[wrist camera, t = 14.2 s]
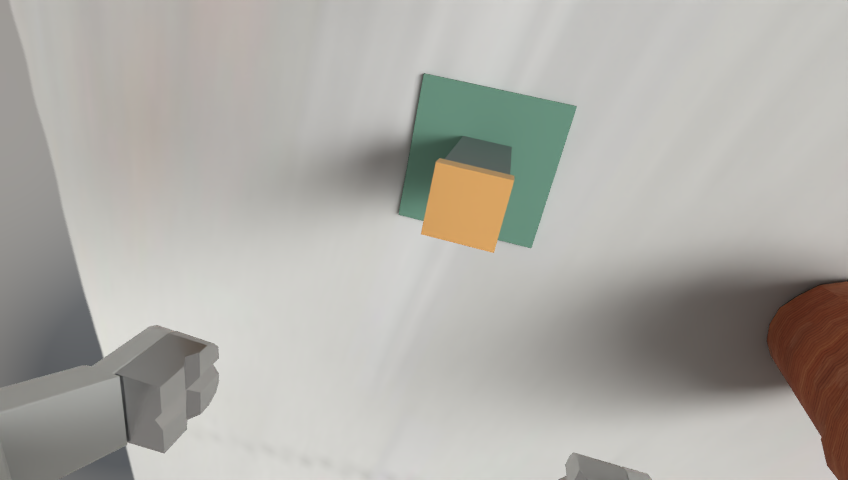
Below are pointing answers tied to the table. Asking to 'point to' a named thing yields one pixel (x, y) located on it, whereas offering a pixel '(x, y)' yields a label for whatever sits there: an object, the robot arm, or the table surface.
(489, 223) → the plug
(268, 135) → the table surface
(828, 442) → the potted plant
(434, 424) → the table surface
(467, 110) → the mat
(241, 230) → the table surface
